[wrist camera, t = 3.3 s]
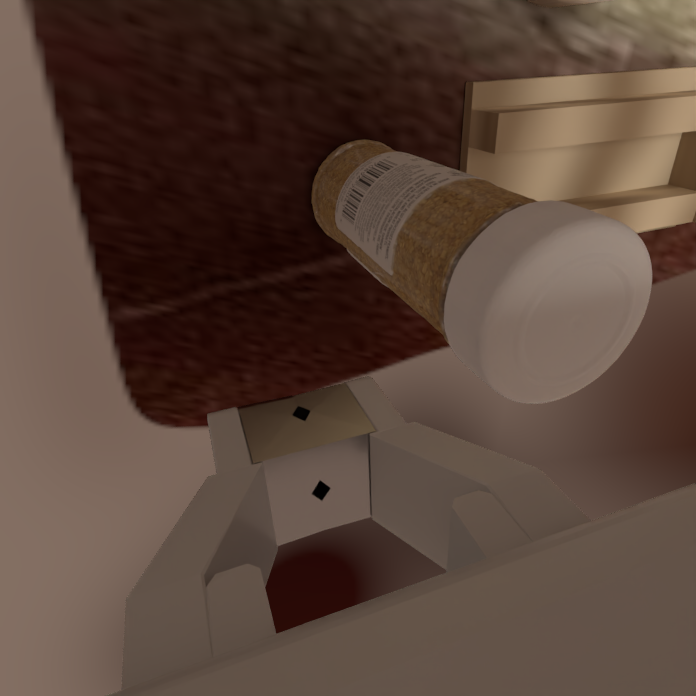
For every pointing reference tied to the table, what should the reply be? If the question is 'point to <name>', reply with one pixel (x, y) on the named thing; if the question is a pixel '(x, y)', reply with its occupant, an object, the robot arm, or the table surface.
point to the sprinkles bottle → (490, 267)
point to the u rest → (590, 142)
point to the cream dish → (562, 2)
